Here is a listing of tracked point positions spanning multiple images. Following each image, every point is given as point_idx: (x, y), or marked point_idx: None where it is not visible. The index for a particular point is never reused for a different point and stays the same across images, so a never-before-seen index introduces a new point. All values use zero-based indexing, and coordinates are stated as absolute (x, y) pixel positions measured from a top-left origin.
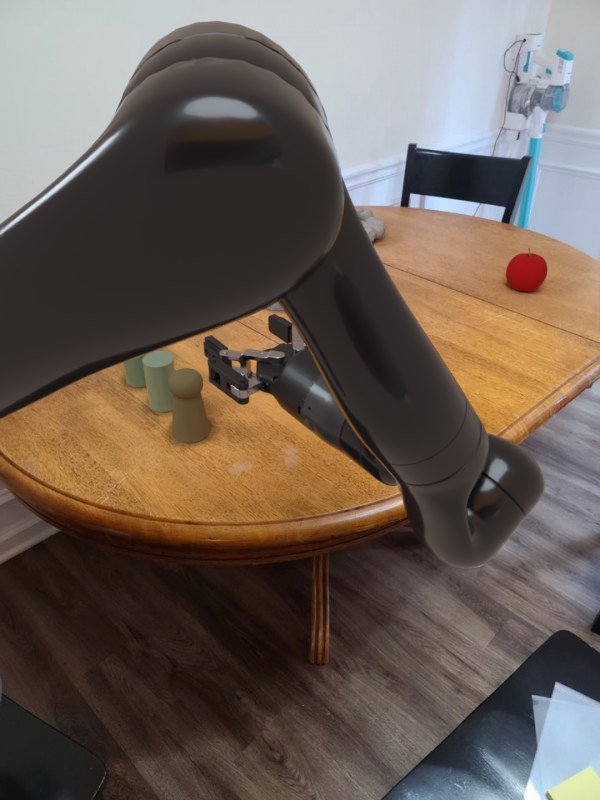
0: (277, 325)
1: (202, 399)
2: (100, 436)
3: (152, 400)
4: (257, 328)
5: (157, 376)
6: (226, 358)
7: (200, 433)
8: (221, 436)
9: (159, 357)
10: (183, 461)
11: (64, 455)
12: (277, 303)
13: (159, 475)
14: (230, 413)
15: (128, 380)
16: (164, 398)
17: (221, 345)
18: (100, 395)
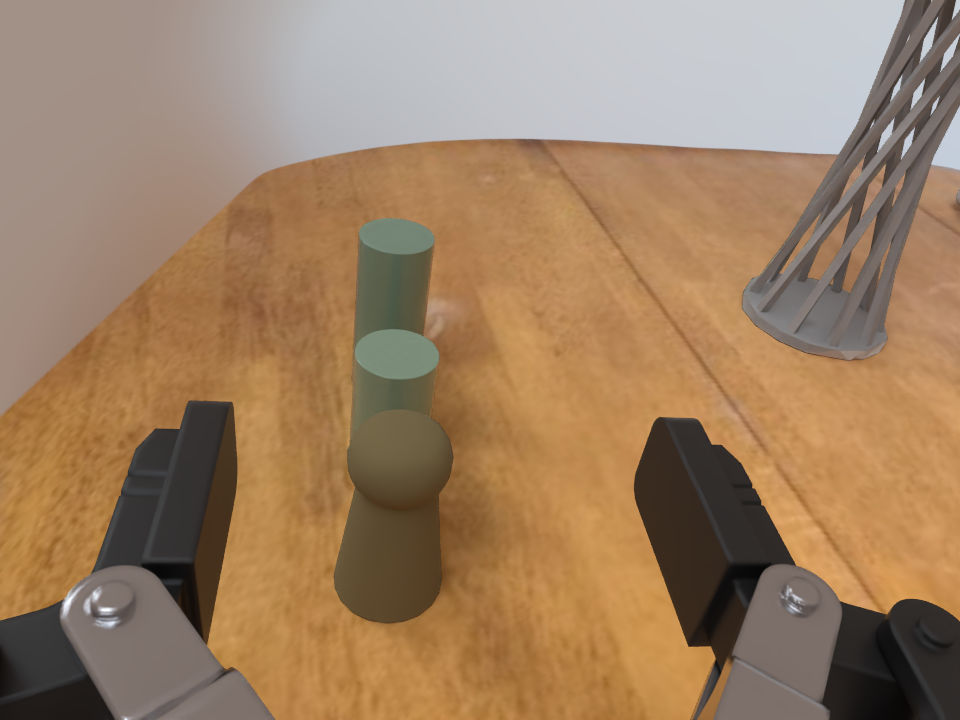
0: (678, 501)
1: (436, 518)
2: None
3: None
4: (716, 367)
5: (371, 397)
6: (79, 664)
7: (393, 605)
8: (449, 639)
9: (402, 351)
10: (299, 669)
11: (78, 491)
12: (793, 328)
13: None
14: (518, 574)
15: (352, 369)
16: None
17: (180, 516)
18: (279, 377)
